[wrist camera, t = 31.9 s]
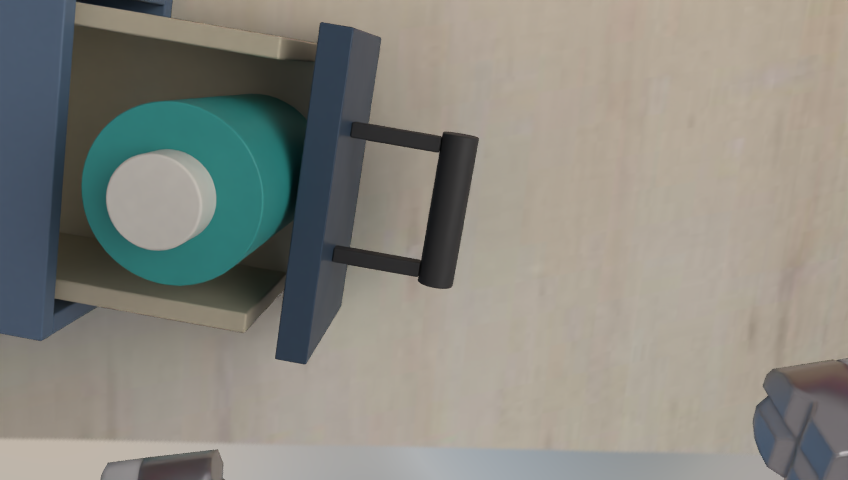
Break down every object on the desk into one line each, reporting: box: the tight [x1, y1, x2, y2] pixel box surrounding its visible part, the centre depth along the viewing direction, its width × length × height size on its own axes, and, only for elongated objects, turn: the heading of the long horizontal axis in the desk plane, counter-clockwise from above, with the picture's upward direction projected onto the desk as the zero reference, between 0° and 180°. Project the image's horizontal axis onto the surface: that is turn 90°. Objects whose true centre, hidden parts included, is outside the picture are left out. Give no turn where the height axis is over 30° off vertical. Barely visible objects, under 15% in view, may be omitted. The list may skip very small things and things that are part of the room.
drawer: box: [55, 2, 479, 364], centre depth 33 cm, size 20×12×8 cm, turn 81°
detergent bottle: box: [81, 94, 307, 286], centre depth 30 cm, size 6×6×12 cm
